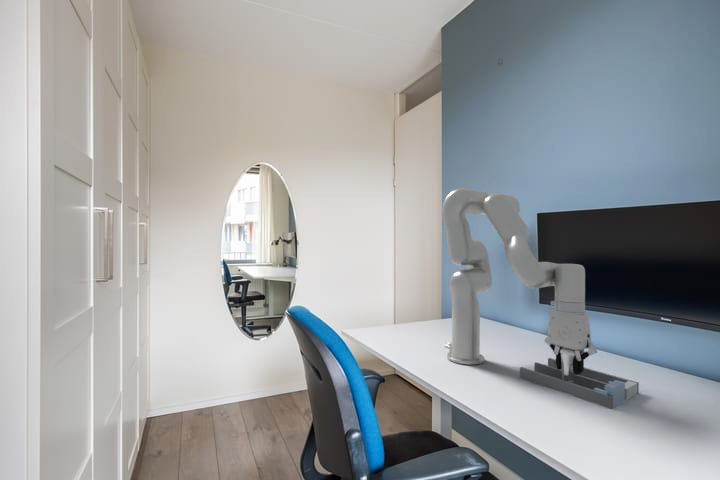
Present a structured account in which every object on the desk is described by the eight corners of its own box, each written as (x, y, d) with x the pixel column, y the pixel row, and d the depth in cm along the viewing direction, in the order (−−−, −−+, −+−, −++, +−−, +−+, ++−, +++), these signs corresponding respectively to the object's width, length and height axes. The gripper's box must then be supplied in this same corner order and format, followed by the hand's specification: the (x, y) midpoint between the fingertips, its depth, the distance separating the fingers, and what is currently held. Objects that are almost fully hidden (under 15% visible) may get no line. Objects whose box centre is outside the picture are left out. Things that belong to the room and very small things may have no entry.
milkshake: (583, 384, 102) (584, 348, 102) (562, 382, 103) (563, 347, 103) (576, 377, 107) (578, 343, 106) (556, 376, 108) (558, 342, 107)
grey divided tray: (519, 377, 113) (519, 361, 113) (549, 366, 122) (549, 351, 122) (611, 408, 92) (611, 389, 92) (638, 393, 102) (638, 375, 102)
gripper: (534, 304, 110) (534, 365, 110) (595, 313, 96) (595, 383, 96) (547, 301, 114) (547, 360, 114) (608, 310, 100) (608, 377, 100)
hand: (569, 370), depth 105 cm, fingers closed on milkshake, 4 cm apart
